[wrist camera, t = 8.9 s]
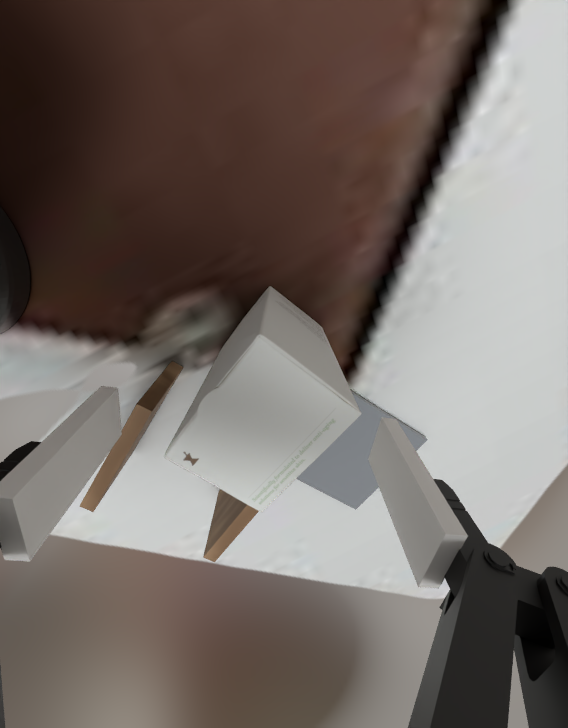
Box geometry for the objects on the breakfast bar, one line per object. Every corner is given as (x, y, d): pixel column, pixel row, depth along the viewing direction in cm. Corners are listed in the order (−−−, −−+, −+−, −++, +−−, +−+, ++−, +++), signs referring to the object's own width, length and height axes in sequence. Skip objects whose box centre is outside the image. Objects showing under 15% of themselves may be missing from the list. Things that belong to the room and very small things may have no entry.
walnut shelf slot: (123, 446, 34) (79, 506, 27) (171, 360, 30) (136, 403, 23) (227, 495, 37) (214, 561, 30) (284, 423, 33) (285, 480, 26)
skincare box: (269, 387, 31) (260, 521, 17) (214, 349, 30) (153, 461, 15) (325, 324, 29) (370, 419, 14) (269, 278, 27) (256, 333, 13)
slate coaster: (270, 461, 35) (270, 465, 34) (336, 381, 31) (337, 384, 31) (354, 505, 38) (355, 509, 37) (424, 436, 34) (427, 439, 33)
